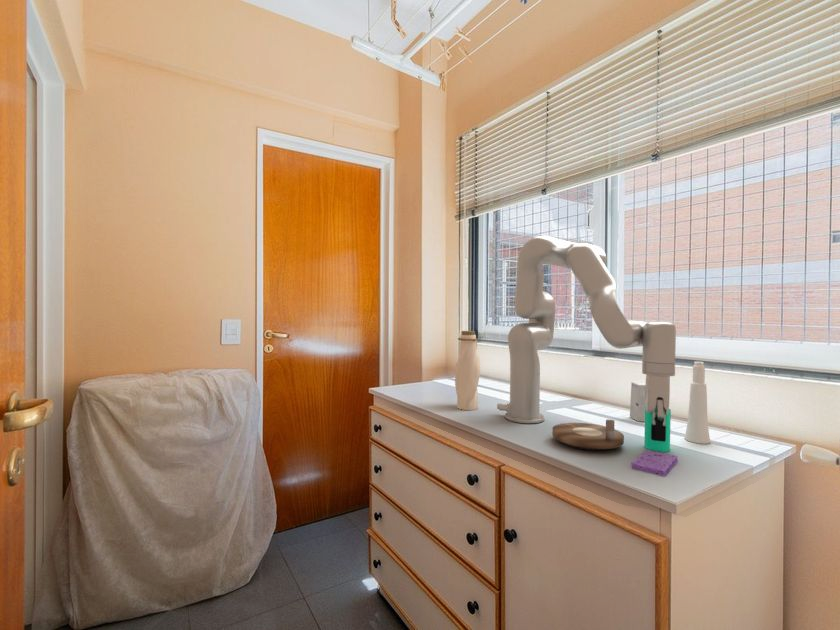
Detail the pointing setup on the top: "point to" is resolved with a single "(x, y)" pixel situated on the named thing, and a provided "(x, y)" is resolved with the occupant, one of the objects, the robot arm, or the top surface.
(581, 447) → the turntable base
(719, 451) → the top surface
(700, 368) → the cosmetic bottle
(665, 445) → the candle
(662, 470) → the sponges
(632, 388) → the skincare box
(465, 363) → the water bottle
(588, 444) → the turntable
